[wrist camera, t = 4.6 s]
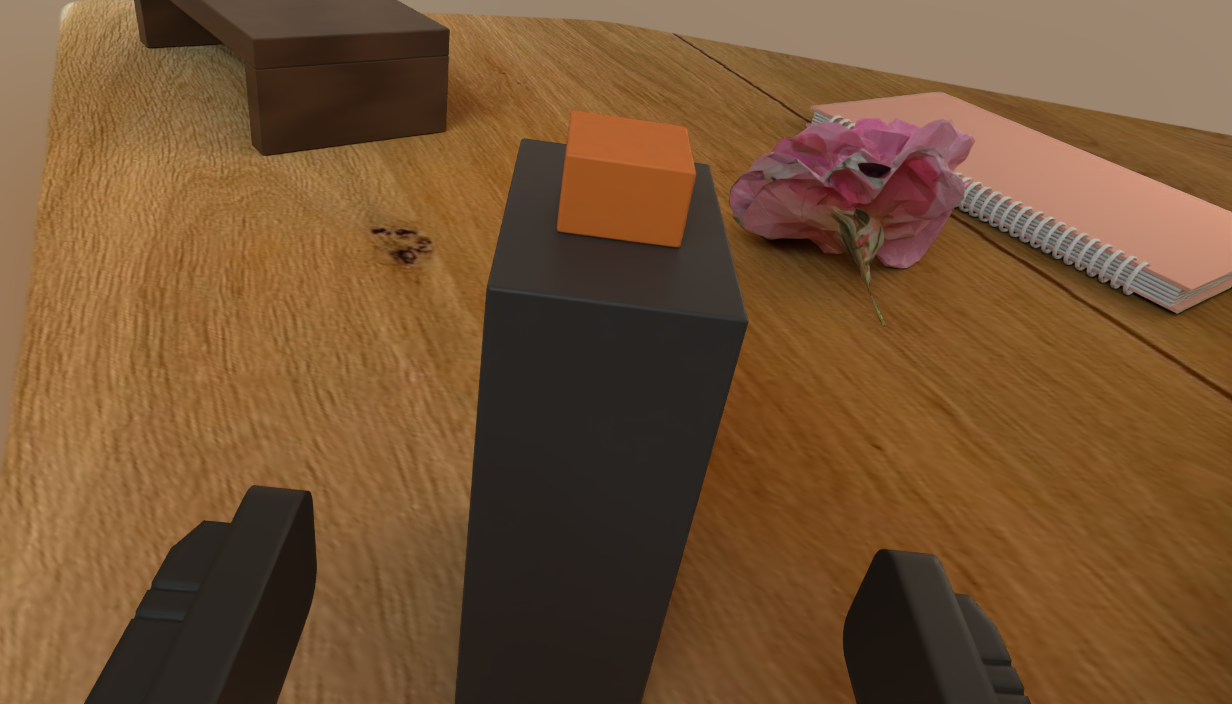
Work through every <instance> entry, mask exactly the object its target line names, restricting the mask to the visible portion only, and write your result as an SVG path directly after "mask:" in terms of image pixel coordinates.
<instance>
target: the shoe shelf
mask: <svg viewBox="0 0 1232 704" xmlns="http://www.w3.org/2000/svg"><path fill="white" fill-rule="evenodd" d="M134 3H135V9H136V16H137V22H138V29H139V35H140V41H141V42H142V43H143V44H144V45H145V46H147V47H148V48H153V47H172V46H190V45H209V44H225V45H226V46H228V47H229V48H230V49H231V50H233V51H234V52H235V53H236V54H238V55H239V56H240V57H241V58H243V59H244V60H245V72H246V83H247V94H248V105H249V116H250V127H251V138H252V145H253V146H254V147H255V148H256V149H257V150H258V151H259V152H260V153H261V154H262V155H270V154H278V153H285V152H293V151H300V150H308V149H315V148H323V147H330V146H338V145H345V144H353V143H360V142H368V141H375V140H383V139H390V138H398V137H405V136H413V135H420V134H428V133H435V132H443V131H446V112H447V88H448V63H449V56H448V55H449V34H450V30H449V29H448V28H446V27H445V26H443V25H441V24H439V23H437V22H436V21H434V20H432V19H430V18H428V17H426V16H425V15H423V14H421V13H419V12H417V11H416V10H414V9H412V8H410V7H408V6H406V5H405V4H403V3H401V2H399V1H397V0H134Z"/></svg>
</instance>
